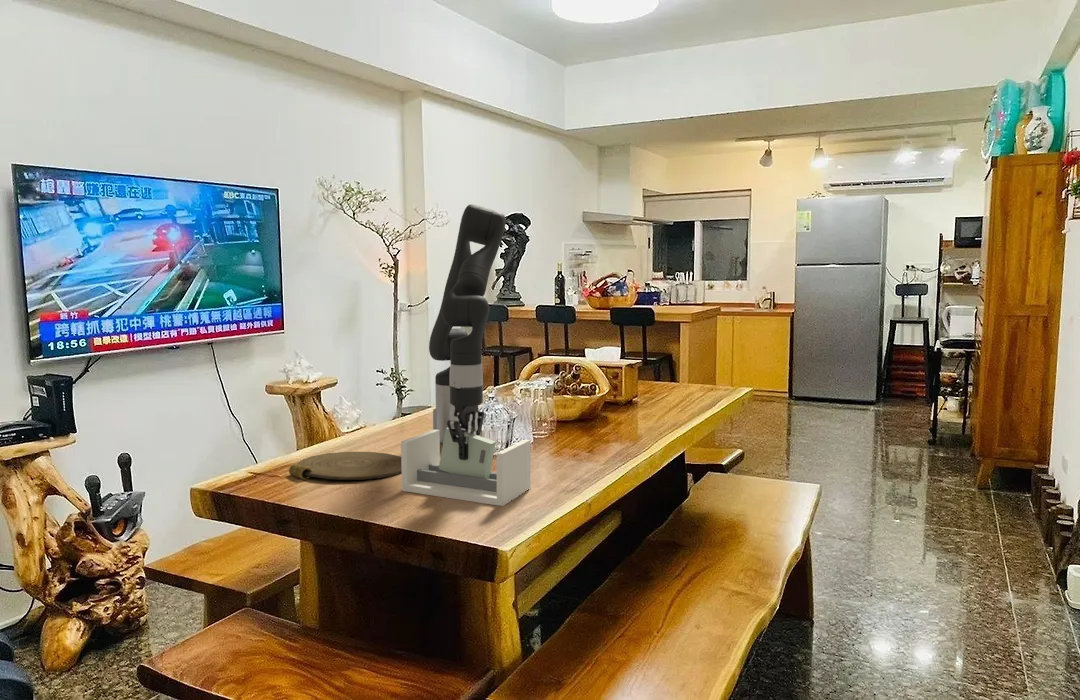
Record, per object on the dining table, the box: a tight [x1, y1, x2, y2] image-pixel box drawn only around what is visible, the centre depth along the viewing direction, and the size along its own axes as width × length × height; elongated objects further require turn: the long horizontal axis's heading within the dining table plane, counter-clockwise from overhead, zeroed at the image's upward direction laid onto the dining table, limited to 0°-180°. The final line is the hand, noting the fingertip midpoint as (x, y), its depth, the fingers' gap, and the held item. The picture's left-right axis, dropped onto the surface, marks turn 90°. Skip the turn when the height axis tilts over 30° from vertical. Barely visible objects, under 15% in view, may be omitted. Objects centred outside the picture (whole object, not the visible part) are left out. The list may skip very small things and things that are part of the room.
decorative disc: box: [288, 451, 402, 481], centre depth 190 cm, size 29×3×30 cm
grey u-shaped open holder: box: [400, 429, 532, 507], centre depth 171 cm, size 26×14×12 cm, turn 66°
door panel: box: [439, 428, 497, 479], centre depth 171 cm, size 12×3×10 cm, turn 66°
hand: (466, 457), depth 171 cm, fingers closed on door panel, 2 cm apart
